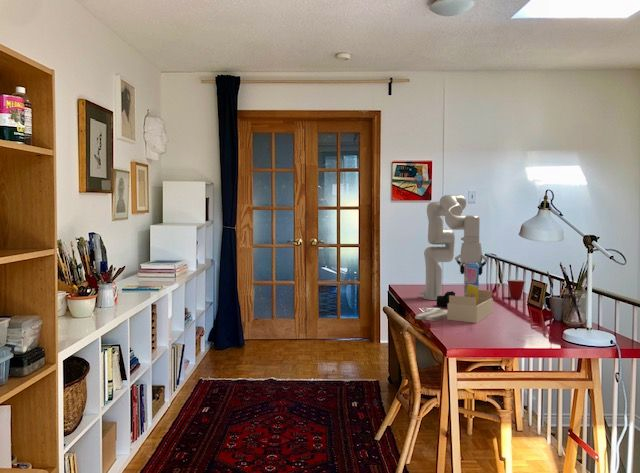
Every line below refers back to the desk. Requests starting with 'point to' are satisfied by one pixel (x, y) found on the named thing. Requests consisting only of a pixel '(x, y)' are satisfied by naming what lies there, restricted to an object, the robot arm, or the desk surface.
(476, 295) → the game box
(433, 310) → the white glove
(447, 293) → the film camera
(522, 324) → the desk surface
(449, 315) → the carton
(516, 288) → the plastic cup
